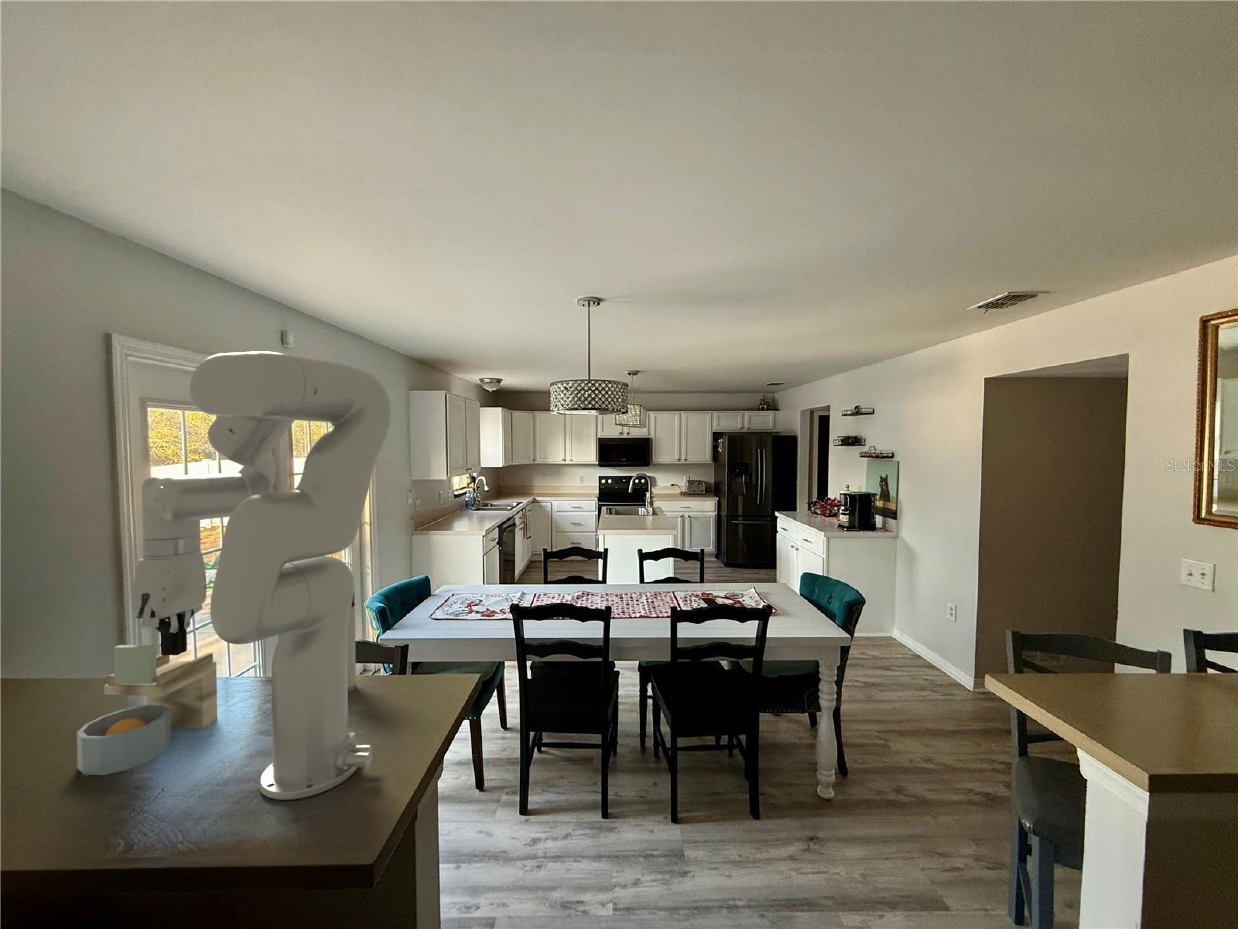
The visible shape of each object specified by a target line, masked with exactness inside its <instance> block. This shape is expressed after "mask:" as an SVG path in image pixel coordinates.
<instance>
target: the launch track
mask: <svg viewBox="0 0 1238 929" xmlns="http://www.w3.org/2000/svg"><path fill="white" fill-rule="evenodd" d="M170 656H171V655H162V654H161V653H160V654H157V655H156V682H155V683H153V684H114V673H112V674H109V675H107V684H104V688H103V690H104V692H103V693H104V694H103V695H104V696H108V695H109V696H110V695H111V696H114V695H115V696H146V705H165V706H166V707H168V708H169V709H170V714H171V728H187V729H188V728H189V729H190V728H191V729H193V728H197V729H199V728H200V729H204V728H205V727H207V726H209V725H210V724H212V723H213V722H215V721H216V720H218V691H217V690H218V688H217V686H218V685H217V681H218V680H217V678H218V677H217V661H216V660H215V661H214V653H213V652H207V653H205V654H203V655H200V656H199V657H197V658H194V659H192V660H170Z"/></svg>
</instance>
